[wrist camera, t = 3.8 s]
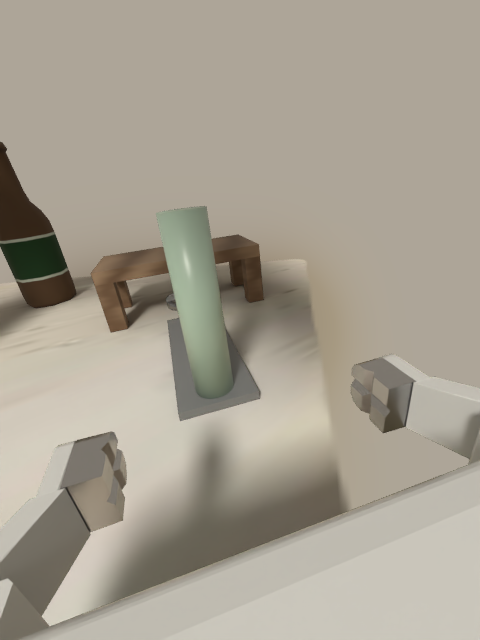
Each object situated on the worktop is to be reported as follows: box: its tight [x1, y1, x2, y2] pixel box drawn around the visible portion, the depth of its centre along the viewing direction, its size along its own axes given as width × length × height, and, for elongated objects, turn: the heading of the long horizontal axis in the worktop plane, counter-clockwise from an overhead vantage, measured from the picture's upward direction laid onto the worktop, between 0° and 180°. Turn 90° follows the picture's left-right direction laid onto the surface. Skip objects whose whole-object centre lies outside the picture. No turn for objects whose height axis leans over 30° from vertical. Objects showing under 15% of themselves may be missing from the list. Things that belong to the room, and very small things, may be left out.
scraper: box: [156, 206, 260, 421], centre depth 26 cm, size 17×6×14 cm, turn 16°
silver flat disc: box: [166, 293, 178, 311], centre depth 42 cm, size 6×6×1 cm
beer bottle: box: [0, 142, 76, 308], centre depth 46 cm, size 8×8×24 cm
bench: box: [91, 235, 264, 332], centre depth 41 cm, size 20×10×8 cm, turn 106°
